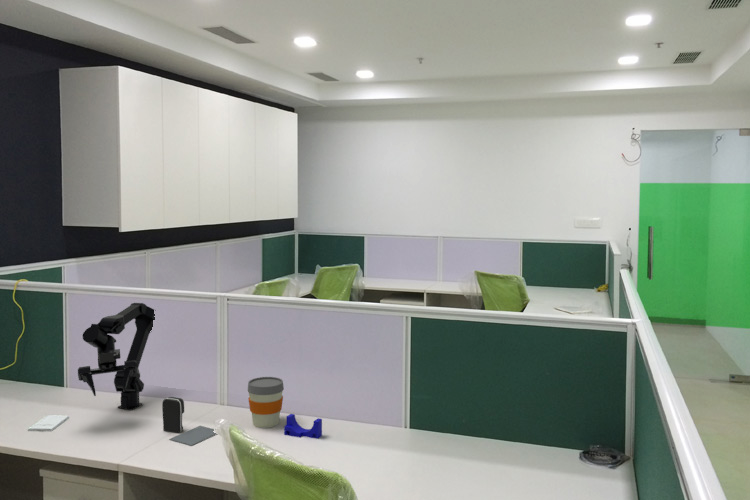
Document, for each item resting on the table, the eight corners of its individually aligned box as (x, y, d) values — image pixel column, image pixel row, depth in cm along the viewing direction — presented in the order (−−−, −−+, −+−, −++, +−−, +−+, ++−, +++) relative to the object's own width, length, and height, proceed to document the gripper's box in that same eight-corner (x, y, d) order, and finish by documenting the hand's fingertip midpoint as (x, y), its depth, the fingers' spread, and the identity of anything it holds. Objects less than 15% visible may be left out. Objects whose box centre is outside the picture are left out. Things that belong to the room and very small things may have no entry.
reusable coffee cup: (272, 431, 225) (271, 389, 224) (240, 426, 230) (240, 384, 228) (290, 419, 237) (290, 379, 235) (260, 414, 241) (259, 374, 240)
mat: (169, 439, 217) (169, 438, 217) (200, 426, 230) (200, 425, 230) (191, 446, 213) (191, 445, 213) (221, 431, 225) (221, 431, 225)
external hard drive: (69, 419, 236) (51, 433, 224) (46, 419, 237) (27, 432, 224) (69, 415, 236) (51, 428, 224) (46, 415, 236) (27, 428, 224)
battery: (186, 429, 227) (185, 397, 226) (179, 433, 223) (179, 400, 222) (168, 427, 229) (168, 395, 228) (162, 431, 225) (161, 398, 224)
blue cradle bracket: (284, 435, 223) (284, 418, 222) (291, 430, 227) (290, 413, 226) (315, 440, 218) (315, 423, 218) (321, 436, 222) (321, 419, 222)
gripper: (75, 345, 221) (78, 389, 213) (134, 338, 228) (139, 380, 220) (77, 358, 229) (80, 401, 222) (134, 351, 237) (138, 392, 229)
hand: (109, 393), depth 223 cm, fingers open, 9 cm apart
